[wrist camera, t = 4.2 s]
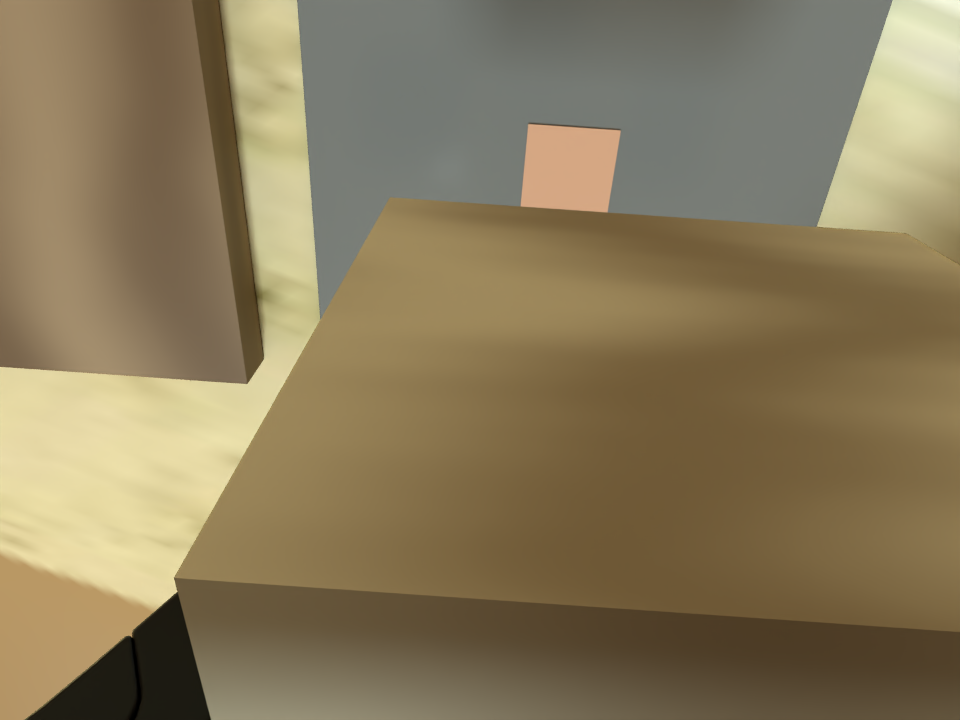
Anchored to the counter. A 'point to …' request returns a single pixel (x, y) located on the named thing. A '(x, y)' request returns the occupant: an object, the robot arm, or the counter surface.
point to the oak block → (599, 481)
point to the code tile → (577, 107)
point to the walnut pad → (122, 193)
